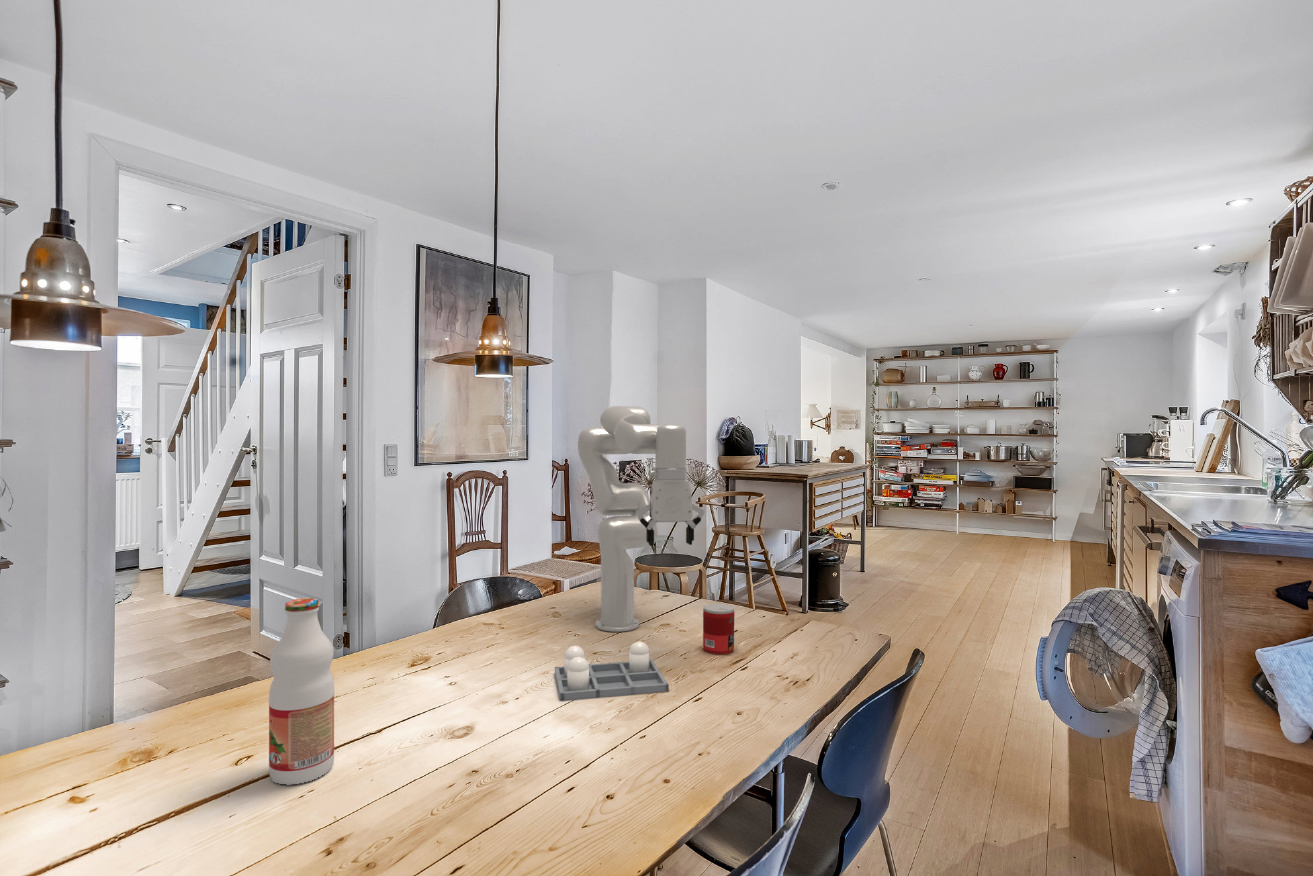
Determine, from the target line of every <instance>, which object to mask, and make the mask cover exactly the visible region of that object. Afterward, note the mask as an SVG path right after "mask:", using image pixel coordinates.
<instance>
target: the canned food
mask: <svg viewBox="0 0 1313 876" xmlns="http://www.w3.org/2000/svg"><path fill="white" fill-rule="evenodd" d="M702 609H703V610H702V612H703V613H702V628H703V629H702V647H703V650H704V651H705V652H707V653H708V654H712V655H727V654H730V653H731V654H732V652H734V649H735V607H734V606H732V605H729V604H725V603H710V604H706V605H703V608H702Z"/></svg>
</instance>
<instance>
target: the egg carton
mask: <svg viewBox="0 0 1313 876" xmlns="http://www.w3.org/2000/svg"><path fill="white" fill-rule="evenodd" d="M588 664H589V690H578V691H567V678H564V666H554V677H555V681H556V686H557V691H558V696H559V701H560V702H565V701H577V700H587V699H589V700H590V699H598V698H599V699H601V698H611V697H621V696H622V697H623V696H634V695H635V696H636V695H644V694H645V695H646V694H657V693H669V689H670V688H669V687H670V685H669V683H668V681H667V680H666V678H665V677H664V675H663V673H662V672H661V671H660V669H659V667H658V666H657V664H656V663H655V661H654V660H653V659H649V672H638V673H629V661H617V662H605V663H591V664H590V663H588Z"/></svg>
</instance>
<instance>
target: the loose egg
mask: <svg viewBox="0 0 1313 876" xmlns="http://www.w3.org/2000/svg"><path fill="white" fill-rule="evenodd" d="M628 655H629V656H628V659H629V660H628V662H629V673H638V672H649V660H650V649H649V646H648V645H647V643H645V642H644V641H640V640H639V641H634V642H633V643H632V644H631V645H630V647H629V652H628Z"/></svg>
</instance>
